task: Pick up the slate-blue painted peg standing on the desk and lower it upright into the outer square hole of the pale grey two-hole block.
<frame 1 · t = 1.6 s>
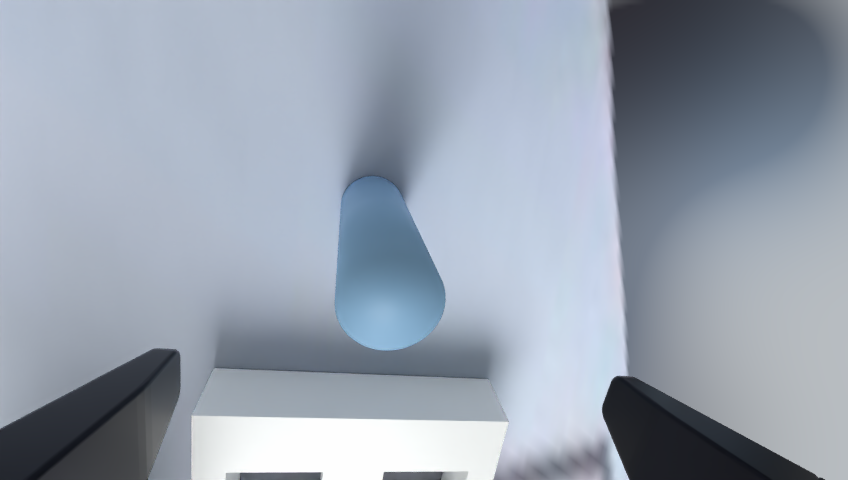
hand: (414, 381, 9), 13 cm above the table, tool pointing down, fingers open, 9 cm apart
hole block: (348, 452, 26), on the table
peg: (372, 206, 21), on the table
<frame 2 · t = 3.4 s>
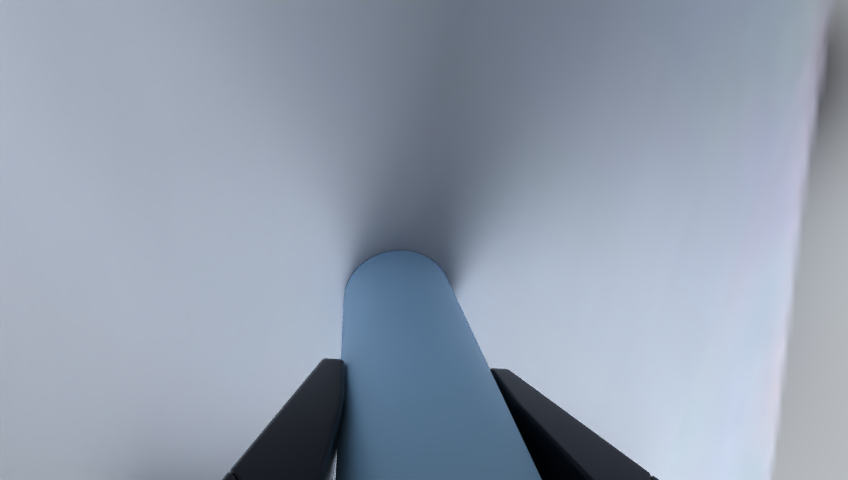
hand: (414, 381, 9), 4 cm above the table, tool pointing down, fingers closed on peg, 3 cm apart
peg: (398, 300, 12), on the table, touching gripper
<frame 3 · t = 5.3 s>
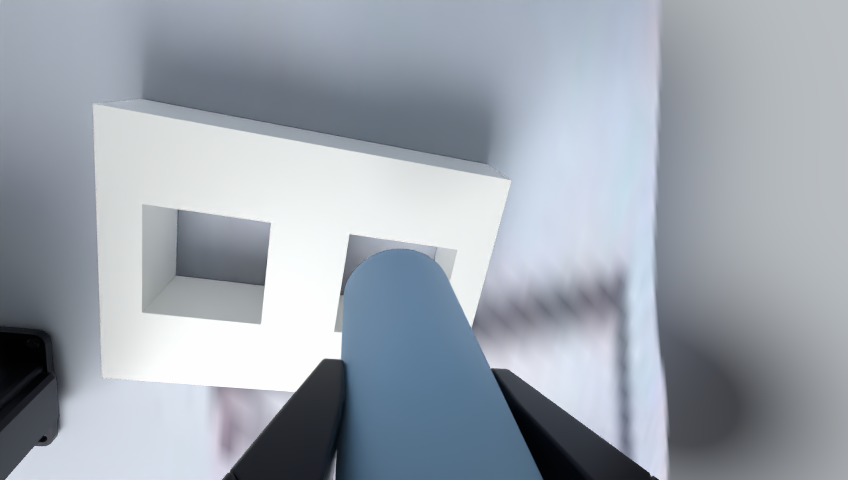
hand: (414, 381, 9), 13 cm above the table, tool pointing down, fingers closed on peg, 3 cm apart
hole block: (312, 249, 21), on the table
peg: (398, 299, 12), point 9 cm above the table, touching gripper
when the fingers open (4 cm above the table, at t = 7.2 s): peg stays where it is, resting in hole block.
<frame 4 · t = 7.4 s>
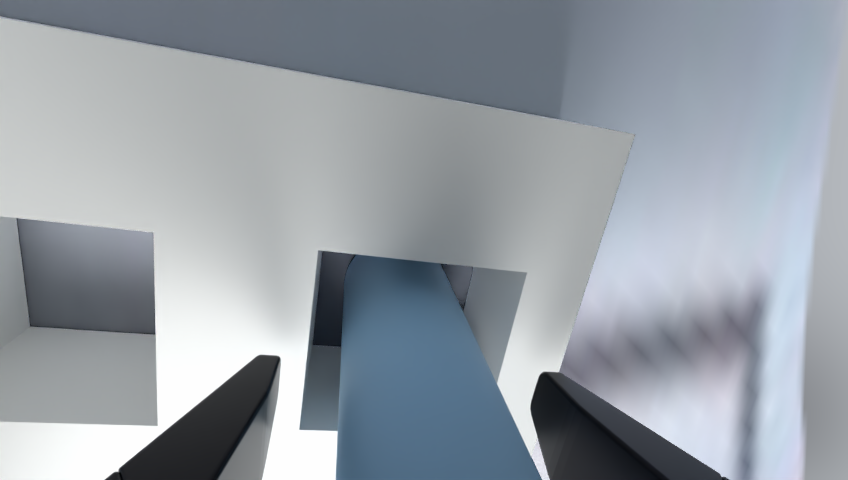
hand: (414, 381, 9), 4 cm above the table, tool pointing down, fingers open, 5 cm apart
hole block: (265, 273, 12), on the table
peg: (394, 284, 13), resting in hole block
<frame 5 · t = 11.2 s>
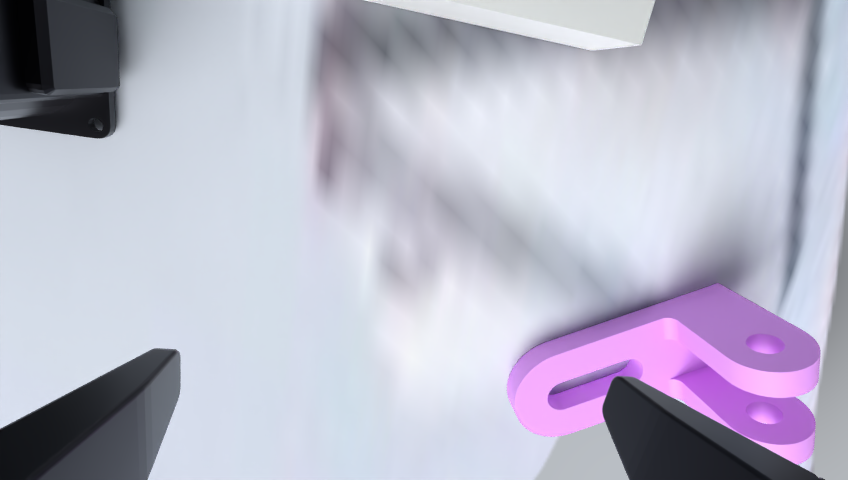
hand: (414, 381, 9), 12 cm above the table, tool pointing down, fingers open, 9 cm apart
bracket: (611, 356, 26), on the table
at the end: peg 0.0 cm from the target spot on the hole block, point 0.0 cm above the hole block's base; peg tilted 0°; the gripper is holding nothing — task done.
